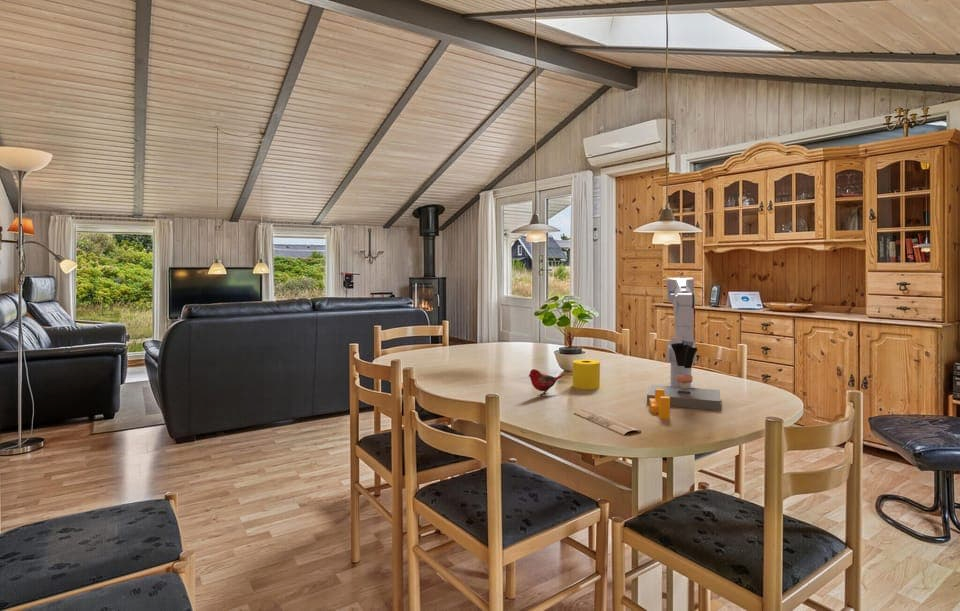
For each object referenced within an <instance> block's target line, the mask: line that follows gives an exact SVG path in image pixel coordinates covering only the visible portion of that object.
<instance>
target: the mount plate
mask: <svg viewBox="0 0 960 611" xmlns="http://www.w3.org/2000/svg"><path fill="white" fill-rule="evenodd" d="M655 389H664V390H665V396H667V397H670V407H676V408H677V407H679V408H689V409H700V410H701V409H702V410H708V409H710V411H719V410H720V411H721V391H720V389H712V388H701V387H700V388H699V387H692V388H688V390H681V389H680V387H675V386H669V385H660V384H651V386H650V388H649V391H647V394H646V404H647V405H649V398H655Z"/></svg>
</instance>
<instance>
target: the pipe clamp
mask: <svg viewBox="0 0 960 611" xmlns="http://www.w3.org/2000/svg"><path fill="white" fill-rule="evenodd" d="M648 409H649V410H650V413H651V414H656V413H658V414H657V415H658V417H659V418H660V419H662V420H663V419H664V420H670V418H671V417H670V416H671V415H670V414H671V406H670V397H667V396H665V390H664V389H655V398H649V404H648Z"/></svg>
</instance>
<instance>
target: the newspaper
mask: <svg viewBox="0 0 960 611" xmlns="http://www.w3.org/2000/svg"><path fill="white" fill-rule="evenodd" d="M574 413H576V414H578V415H580V416H582V417H581V418H583V417H585V418H587V419H589V420H591V421H590V422H592V421H593V422H592V423H594V422H595V423H594V424H596V423H598V424H597V425H599V424H600V425H599V426H601V425H602V426H601V427H603V426H604V427H603V428H606V429H608V428H609V430H610V429H611V430H610V431H612V430H613V431H612V432H615V433H617V434H620V435H622V436H625V435H626V433H628V432H631V431H634V432H636V431H637V433H642V430H640V429H637V428H635V427H633V426H630V425H628V424H626V423H623V422H621V421H618V420H615V419H613V418H611V417H608V416H606V415H602V414H600V413H599V412H598V413H597V412H595V411H592V410H590V409H587V408H585V409H583V408H581V409H578V410H576V411H574V412H573V414H574ZM576 414H575V415H576ZM578 415H577V416H578ZM580 416H579V417H580ZM585 418H584V419H585ZM587 419H586V420H587ZM589 420H588V421H589Z"/></svg>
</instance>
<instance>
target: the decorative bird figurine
mask: <svg viewBox="0 0 960 611" xmlns="http://www.w3.org/2000/svg"><path fill="white" fill-rule="evenodd" d="M563 376H565V374H564V373H563V374H559V375H558V376H555V377H554V376H552V375H549V374H544V373H541V372H540V371H539V370H538V369H534V368H533V369H531V370H530V371H529V374H528V377H529V378H530V380H531V384H532V387H533V388H535V389H536V390H537V391H540V392H542V393H540V394H538V395H537V396H538V397H539V396H540V397H543V396H546V395H548V394H549V393H548V390H550V389H551V388H552V387H554V386H555V384H556V382H557V381H558V380H559V379H560V378H562V377H563ZM542 395H543V396H542Z"/></svg>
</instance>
